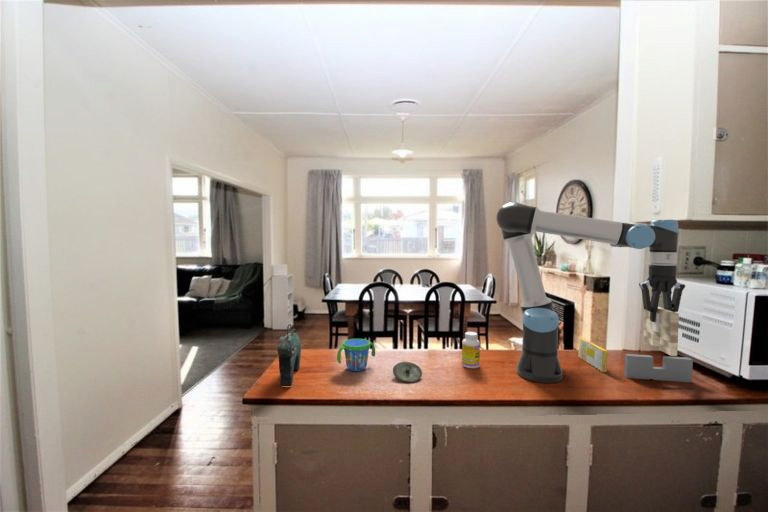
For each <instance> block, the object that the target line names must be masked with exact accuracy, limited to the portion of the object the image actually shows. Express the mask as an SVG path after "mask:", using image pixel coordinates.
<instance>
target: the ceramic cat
mask: <svg viewBox="0 0 768 512" xmlns="http://www.w3.org/2000/svg"><path fill="white" fill-rule="evenodd" d="M291 327H292V324H291V323H290V324H288V325H287V327H286V335H285V336H284V335H282V336H280V337H279V339H278V343H277V355H278V367H279V368H278V369H279V378H280V379H279V382H280V387H281V386H291V385H292V386H293V384H292V383H294V371H293V370H297V369H299V370H300V365H301V363H300V362H301V353H302V344H301V340H300V339H301V338H300V336H299V334H298V333H297V329H295V328H293V329H292V330H291V332H289V328H291ZM297 371H298V370H297Z"/></svg>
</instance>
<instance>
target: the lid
mask: <svg viewBox="0 0 768 512" xmlns="http://www.w3.org/2000/svg"><path fill="white" fill-rule="evenodd" d="M392 373H393V376H394V377H395V378H396V379H397V380H398V381H399V382H401V383H406V382H407V383H406V384H412V383H411V382H413V383H416V382H418V381H419V380H421V378H422V376H423V370H422V368H421V367H420V366H419V365H417V364H416V363H414V362H410V361H401V362H398V363H396V364H395V365H394V366H393V368H392ZM408 382H409V383H408Z"/></svg>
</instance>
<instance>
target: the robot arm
mask: <svg viewBox="0 0 768 512" xmlns="http://www.w3.org/2000/svg"><path fill="white" fill-rule="evenodd" d="M495 218H496V223H497V225H498V227H499V228H500V230H501V233H502V237H503V238H502V239H503V241H504V242H506V243H508V245H509V248H510V253H511V257H512V262H513V265H514V269H515V272H516V273H515V274H516V277H517V281H518V284H519V289H520V292H521V297H522V303H521V304H520V309H521V312H522V351H521V354H520V357H519V359H518V362H517V364H516V373H517V375H518V376H520V377H522V378H524V379H526V380H529V381H532V382H535V383H544V384H555V383H558V382H561V381H562V380H563V370H562V367H561V363H560V360H559V357H558V345H559V342H558V341H559V324H560V320H559V315H558V313H557V312H555V309H554V306H553V302H552V300H551V299H550V298H548V297H547V294H546V291H545V287H544V283H543V279H542V275H541V271H540V268H539V263H538V259H537V255H536V251H535V248H534V245H533V241H532V237H533V236H534V234H535V232H537V233H541V234H542V233H543V234H547V235H548V234H549V235H555V236H559V237H560V236H561V237H566V238H573V239H580V240H584V241H591V242H598V243H602V244H604V243H605V244H609V245H610V247H612V248H613V247H614V248H631V249H636V250H643V249H645V248H649V251H648V252H649V254H648V262H649V263H650V264H649V265H648V277H647V279H646V281H644V282H639V283H638V285H639V288H640V289H641V296H642V304H643V309H644V311H645V310H647V311H649V312H650V321H652V330H653V331H655V332H659V316H660V314H659V313H657V310H658V307H659V302H660V295H661V294H662V299H663V308H664V309H666V310H669V311H672V312H675V313H678V312H679V309H680V304H681V299H682V294H683V291H684V289H685V288H686V284H684V283H680V282H678V280H677V272H678V271H677V267H678V266H677V263H678V242H679V234H680V233H679V222H678V221H677V220H676V219H652V220H651V221H650V224H649V225H645V224H639V223H638V224H636V223H634V224H633V223H627V222H621V221H614V220H608V219H600V218H595V217H594V218H592V217H586V216H582V215H581V216H579V215H572V214H567V213H566V214H565V213H559V212H552V211H545V210H540V209H539V208H538V207H537V206H532V205H531V206H530V205H526V204H522V203H519V202H516V201H515V202H514V201H511V202H507V203H505V204H504V205H501V206H500V208H499V209H498V211H497V213H496V217H495ZM650 287H651V292H650V290H649V289H650ZM672 289H673V292H672ZM650 293H651V294H650ZM650 295H651V296H650Z"/></svg>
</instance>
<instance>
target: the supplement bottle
mask: <svg viewBox="0 0 768 512" xmlns="http://www.w3.org/2000/svg"><path fill="white" fill-rule="evenodd" d="M477 338H478V333H477V332H475V331H466V332H465V333H464V338H463V339H462V341H461V342H462V343H461V345H462V348H461V364H462V367H464V368H467V369H478V368H479V367H480V360H481V359H480V356H481V354H480V353H481V352H480V351H481V342H480V340H478V339H477Z"/></svg>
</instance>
